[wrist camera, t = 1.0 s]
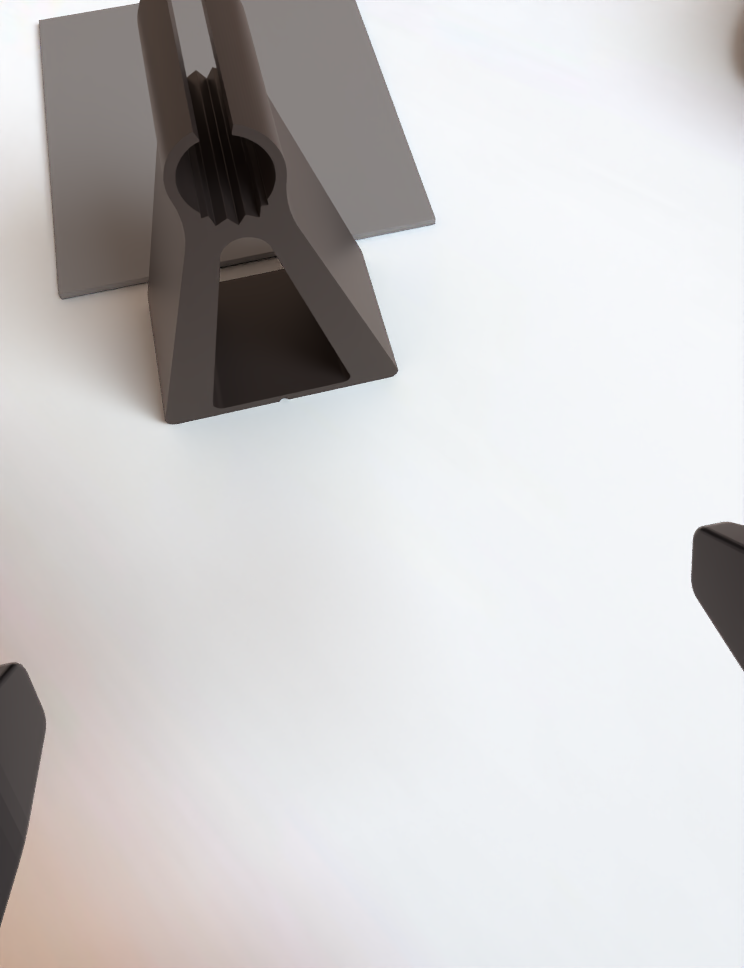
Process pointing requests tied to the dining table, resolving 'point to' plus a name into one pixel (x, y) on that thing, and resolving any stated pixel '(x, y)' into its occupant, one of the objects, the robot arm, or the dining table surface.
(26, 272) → the dining table surface
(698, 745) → the dining table surface
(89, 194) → the mat
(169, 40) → the phone stand
